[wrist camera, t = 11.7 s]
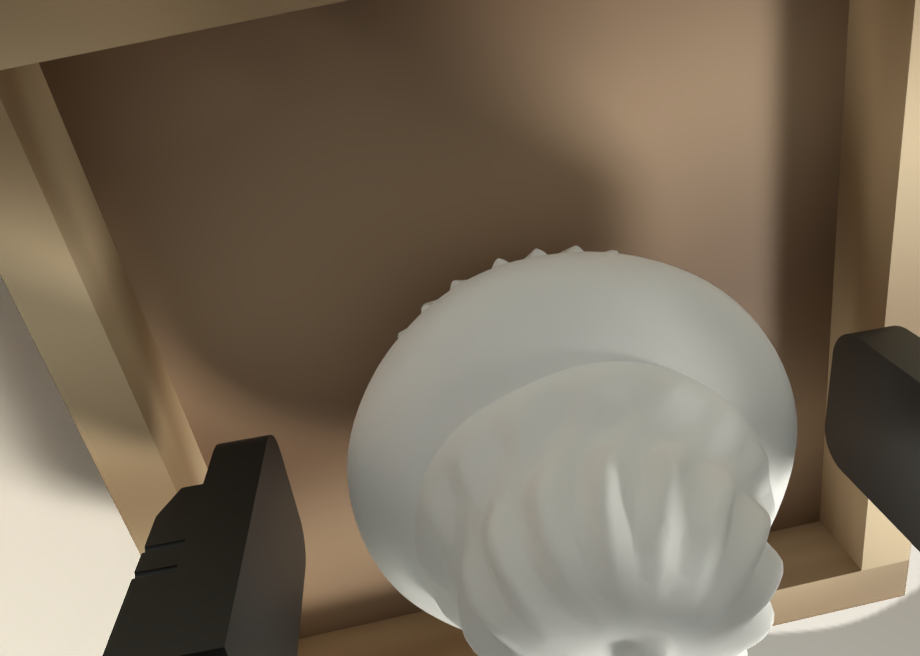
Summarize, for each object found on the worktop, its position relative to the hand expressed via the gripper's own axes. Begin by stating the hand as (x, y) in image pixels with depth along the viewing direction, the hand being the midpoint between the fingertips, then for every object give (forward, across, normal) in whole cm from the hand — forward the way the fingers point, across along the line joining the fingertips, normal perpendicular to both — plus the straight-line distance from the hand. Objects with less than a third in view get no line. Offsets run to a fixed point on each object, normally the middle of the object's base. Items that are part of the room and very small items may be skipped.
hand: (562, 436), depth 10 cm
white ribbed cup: (+3, 0, 0) cm, 3 cm away
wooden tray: (+8, 0, 0) cm, 8 cm away
